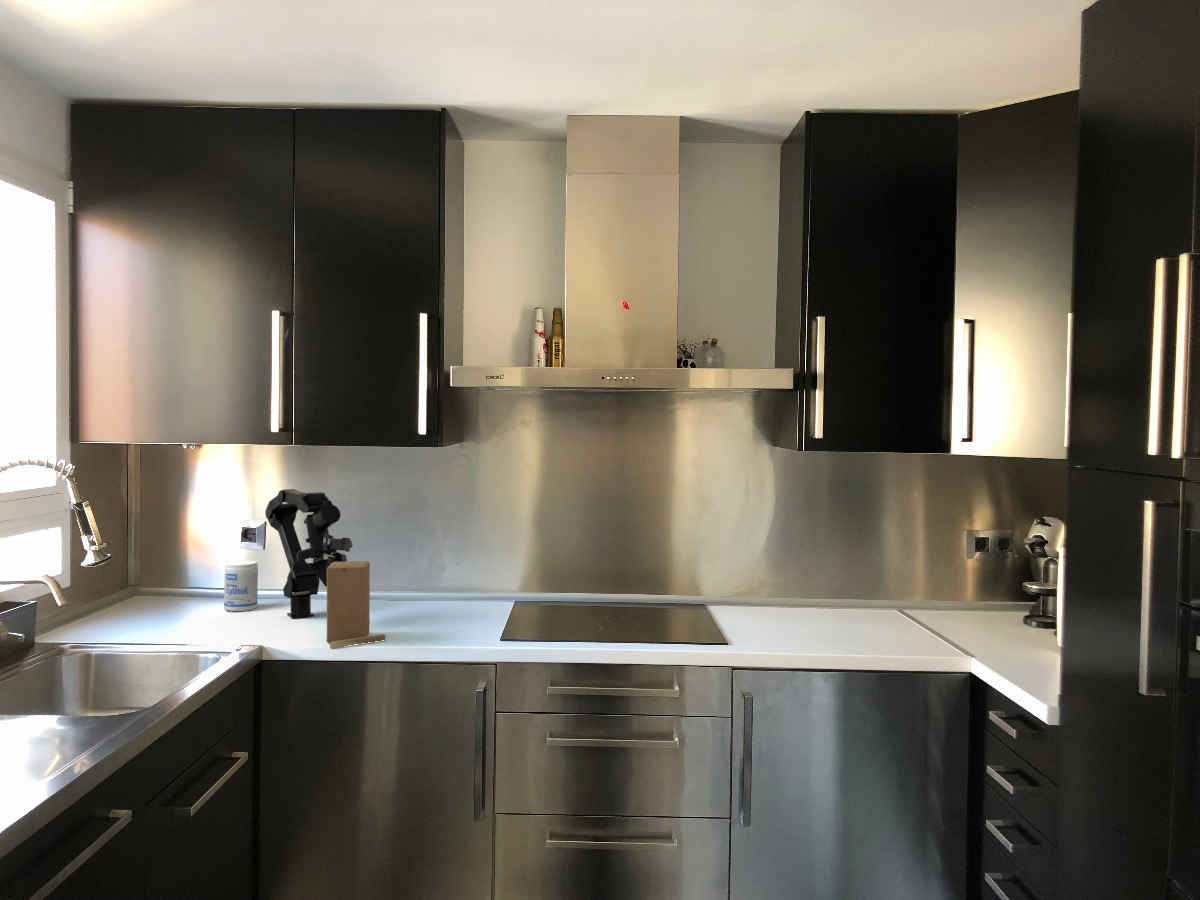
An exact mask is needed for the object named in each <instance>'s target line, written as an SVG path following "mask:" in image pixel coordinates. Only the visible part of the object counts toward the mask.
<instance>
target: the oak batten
mask: <svg viewBox="0 0 1200 900" xmlns="http://www.w3.org/2000/svg"><path fill="white" fill-rule="evenodd" d="M382 640H385V641H386V635H385V634H383V633H382V634H375V635H368V636H367V637H360V638H353V639H346V640H339V641H332V642H330V643H329V648H330V649H331V650H334V649H340V648H341V649H343V648H345V647H344V646H348V645H354V644H362V643H368V642H375V641H382ZM382 642H383V641H382ZM375 643H376V642H375ZM368 644H369V643H368ZM362 645H363V644H362ZM348 647H349V646H348Z"/></svg>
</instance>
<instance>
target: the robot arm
mask: <svg viewBox="0 0 1200 900" xmlns="http://www.w3.org/2000/svg"><path fill="white" fill-rule="evenodd" d="M298 511H301V512H302V513H307V515H306V517H305V519H304V520H303V524H305V525H306V531H307V537H308V538H305V541H306V542H305V543H307V544H309V548H306V549H302V547H301V543H300V540H299V536H298V535H297V531H296V528H295V525H294V523H295V521H296V518H297V513H298ZM308 513H310V514H308ZM264 515H265V518H266V520H267V521H268V523H269V525H270V527H271V528H273V529H274V530H275V531H276V532H278V536H279V538H280V542H281V545H282V549H283V551H284V555H285V557H286V560H287V561H286V562H287V563H288V567H289V572H288V574H287V577H286V579H287V581H286V583H285V584H284V587H283V589H282V590H283V592H282V593H283V596H284V597H285V598H288V599H290V612H287V613H286V616H288V617H289V616H290V617H289V618H291V619H292V618H293V619H299V618H298V617H302V618H308V617H307V616H310V617H314V616H315V614H314V613H313V612H311V611H312V609H311V608H312V605H311V604H312V600H311V599H312V598H311V597H312V596H313V595H315V596H316V595H318V592H319V587H320V581H321V582H322V584H323V586H324V587H326V588H327V568H328V567H329V566H330V564H331V563H332V562H348V558H347V554H345V553H343V552H344V551H345V552H349V553H350V551H351V548H352V547H353V546H354V545H353V541H351V538H350V537H342V538H335V537H334V536H333V535H331V534H330V531H329V528H330V527H332V526H333V525H335V524H336V523H338V521H340V518H341V511H340V509H339V508H338V506H337V505H334V504H333V502H332V500H330V499H329V498H328V496H327V495H326V493H325V492H324V491H322V492H305V491H299V490H297V489H296V488H292V489H291V488H290V489H288V488H287V489H281V490H279V491H278V493H277V495H276V496H274V497H273V498H272V499H271V500H269V501H268V503H267V506H266V508H265V514H264ZM338 551H343V552H338ZM309 559H313V560H312V562H307V561H306V560H309Z"/></svg>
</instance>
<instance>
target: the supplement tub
mask: <svg viewBox="0 0 1200 900" xmlns="http://www.w3.org/2000/svg"><path fill="white" fill-rule="evenodd" d="M224 565H225V566H224V584H223V585H224V589H223V590H224V591H223V594H224V595H223V596H224V597H223V608H224V610H225V611H227V612H232V611H241V612H248V611H247V610H249V611H252V609H253V610H255V609H256V608H257V607H258V598H259V597H258V593H259V592H258V588H259V587H258V585H259V566H258V565H259V563H258V561H256V560H234V561H228V562H226V563H225V564H224Z"/></svg>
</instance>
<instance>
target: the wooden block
mask: <svg viewBox="0 0 1200 900" xmlns="http://www.w3.org/2000/svg"><path fill="white" fill-rule="evenodd" d="M370 569H371V568H370V561H369V560H362V561H361V560H358V561H357V560H356V561H353V560H352V561H347V562H332V563H331V564H330V566H329V567H328V568H327V587H326V643H327V642H332V641H339V640H346V639H353V638H360V637H367V636H369V634H370V599H371V598H370V594H371V593H370V585H371V584H370V576H371V575H370Z"/></svg>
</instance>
